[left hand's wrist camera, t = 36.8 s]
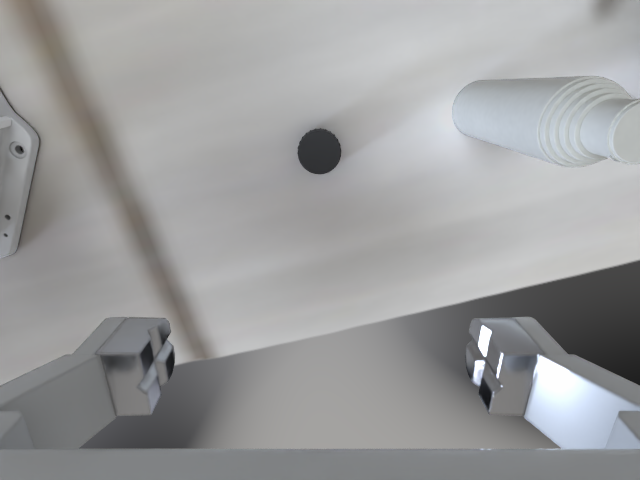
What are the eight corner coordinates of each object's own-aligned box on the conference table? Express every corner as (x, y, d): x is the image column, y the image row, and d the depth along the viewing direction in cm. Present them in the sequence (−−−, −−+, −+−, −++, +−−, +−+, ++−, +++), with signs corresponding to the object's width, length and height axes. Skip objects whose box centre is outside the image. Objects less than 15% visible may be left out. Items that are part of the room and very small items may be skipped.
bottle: (441, 110, 38) (566, 134, 19) (483, 67, 37) (668, 46, 17) (474, 147, 40) (623, 206, 20) (516, 108, 38) (721, 130, 19)
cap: (297, 169, 41) (296, 173, 39) (299, 126, 39) (298, 128, 37) (338, 171, 41) (339, 176, 39) (341, 129, 39) (342, 131, 37)
